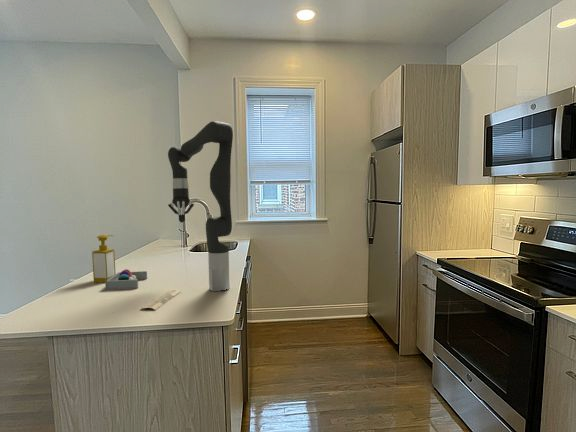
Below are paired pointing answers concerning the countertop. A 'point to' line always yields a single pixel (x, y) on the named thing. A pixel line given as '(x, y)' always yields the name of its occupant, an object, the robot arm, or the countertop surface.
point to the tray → (125, 281)
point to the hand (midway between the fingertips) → (182, 222)
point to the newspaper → (161, 299)
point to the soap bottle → (103, 261)
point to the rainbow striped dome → (126, 275)
